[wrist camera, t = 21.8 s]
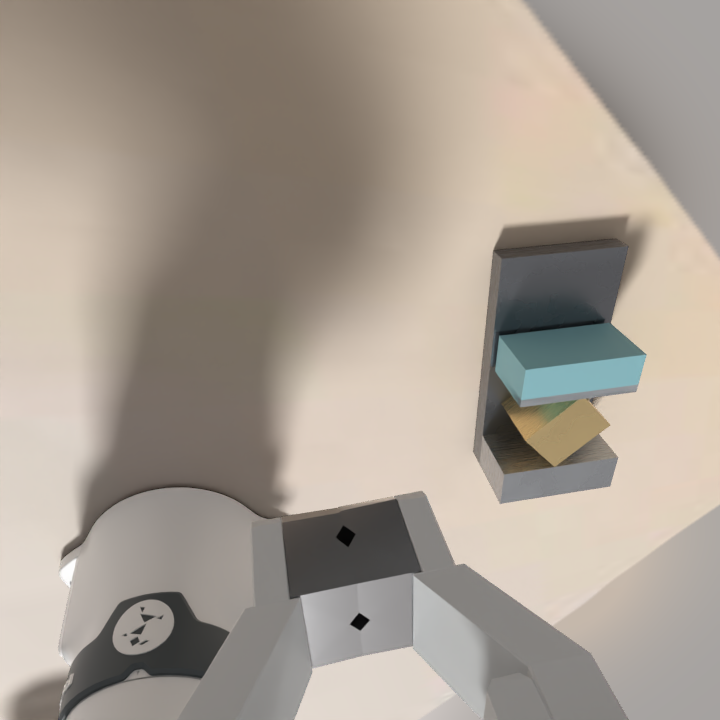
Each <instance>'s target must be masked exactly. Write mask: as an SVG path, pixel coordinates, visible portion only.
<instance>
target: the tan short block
mask: <svg viewBox="0 0 720 720" xmlns="http://www.w3.org/2000/svg"><path fill="white" fill-rule="evenodd" d="M590 399H591V398H586V399H579V400H571V401H564V402H557V403H549V404H542V405H535V406H527V407H519V405H518V404H517V402H516V401H515V399H514V398H513V396H512V395H511V396H510V397H509V398H508V399H506V400H505V401H504V402H503V403H501V404H502V406H503V407H504V409H505V410H506V412H507V413H508V415H509V416H510V418H511V419H512V421H513V423H514V424H515V426H516V427H517V429H518V430H519V432H520V433H521V435H522V436H523V438H524V440H525V441H526V442H527V443H528V444H529V445H530V446H532V447H533V448H534V449H535V450H536V451H537V452H538V453H539V454H541V455H542V456H543V457H544V458H545V459H546V460H547V461H548V462H550V463H551V464H552V465H553V466H554V467H555V466H557V465H558V464H559V463H561V462H562V461H563V460H565V459H566V458H567V457H569V456H570V455H571V454H573V453H574V452H575V451H577V450H578V449H579V448H581V447H582V446H583V445H585V444H586V443H587V442H589V441H590V440H591V439H593V438H594V437H595V436H597V435H598V434H599V433H601V432H602V431H603V430H604V429H606V428H607V427H608V426H610V424H609V423H608V422H607V420H606V419H605V418H604V417H603V416H602V415H601V414H600V412H599V411H598V410H597V409H596V408H595V407H594V406H593V404H592V403H591V402H590V401H589V400H590Z"/></svg>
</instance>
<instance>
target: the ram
mask: <svg viewBox="0 0 720 720" xmlns="http://www.w3.org/2000/svg"><path fill="white" fill-rule="evenodd" d="M645 358H646V354H645V353H644V352H643V351H642V350H641V349H639V348H638V347H637V346H636V345H635V344H634V343H632V342H631V341H630V340H629V339H628V338H627V337H626V336H624V335H623V334H622V333H621V332H620V331H619V330H617V329H616V328H615V327H614V326H613V325H612V324H611V323H603V324H595V325H586V326H578V327H569V328H561V329H552V330H544V331H535V332H527V333H518V334H510V335H501V336H499V342H498V351H497V359H496V368H495V372H496V373H497V375H498V376H499V378H500V379H501V380H502V382H503V383H504V385H505V386H506V388H507V389H508V391H509V392H510V394H511V395H512V396H513V398H514V399H515V401H516V402H517V404H518V405H519V407H527V406H535V405H542V404H549V403H557V402H564V401H571V400H579V399H586V398H594V397H601V396H608V395H616V394H623V393H630V392H636V390H637V386H638V383H639V379H640V376H641V372H642V369H643V365H644V362H645Z"/></svg>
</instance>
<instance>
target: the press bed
mask: <svg viewBox="0 0 720 720" xmlns="http://www.w3.org/2000/svg"><path fill="white" fill-rule="evenodd" d="M627 250H628V246H627V245H626V244H624V243H622V242H621V241H619V240H618V239H608V240H597V241H587V242H577V243H567V244H556V245H546V246H536V247H526V248H515V249H505V250H495V251H493V259H492V269H491V279H490V289H489V299H488V310H487V320H486V330H485V340H484V350H483V360H482V370H481V380H480V390H479V400H478V410H477V420H476V430H475V440H474V450H473V452H474V454H475V456H476V458H477V460H478V462H479V464H480V466H481V468H482V470H483V472H484V473H485V475H486V477H487V479H488V481H489V483H490V485H491V487H492V489H493V491H494V493H495V495H496V497H497V499H498V501H499V503H500V504H501V503H508V502H514V501H520V500H527V499H533V498H539V497H546V496H552V495H558V494H565V493H571V492H577V491H584V490H590V489H596V488H603V487H609V486H610V485H611V481H612V477H613V474H614V470H615V467H616V463H617V460H618V457H617V455H616V454H615V453H614V452H613V451H612V449H611V448H610V447H609V446H608V445H607V443H606V442H605V441H604V440H603V439H602V437H601V436H600V435H599V434H598V435H597V436H595V437H594V438H593V439H591V440H590V441H589V442H587V443H586V444H585V445H583V446H582V447H581V448H579V449H578V450H577V451H575V452H574V453H573V454H571V455H570V456H569V457H567V458H566V459H565V460H563V461H562V462H561V463H559V464H558V465H557V466H555V467H554V466H553V465H552V464H551V463H550V462H548V461H547V460H546V459H545V458H544V457H543V456H542V455H541V454H539V453H538V452H537V451H536V450H535V449H534V448H533V447H532V446H530V445H529V444H528V443H527V442H526V441H525V440H524V438H523V436H522V435H521V433H520V432H519V430H518V429H517V427H516V426H515V424H514V423H513V421H512V419H511V418H510V416H509V415H508V413H507V412H506V410H505V409H504V407H503V406H502V404H501V403H503V402H504V401H505V400H506V399H508V398H509V397H510V396H511V394H510V392H509V391H508V389H507V388H506V386H505V385H504V383H503V382H502V380H501V379H500V378H499V376H498V375H497V373H496V372H495V368H496V359H497V351H498V342H499V336H501V335H510V334H518V333H527V332H535V331H544V330H552V329H561V328H569V327H578V326H586V325H595V324H603V323H611V319H612V315H613V311H614V306H615V302H616V298H617V293H618V289H619V285H620V280H621V276H622V272H623V268H624V263H625V259H626V255H627ZM589 401H590V402H591V403H592V401H593V398H591V399H590V400H589Z"/></svg>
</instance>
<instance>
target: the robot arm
mask: <svg viewBox="0 0 720 720" xmlns="http://www.w3.org/2000/svg"><path fill="white" fill-rule="evenodd" d="M59 576H60V578H61V579H62V580H63V582H64V583H65V584H66V585H67V586H68V587H69V588H70V591H69V596H68V600H67V605H66V610H65V615H64V620H63V624H62V629H61V634H60V639H59V645H58V651H59V655H60V656H62V657H63V658H64V660H65V662H66V663H67V664H68V665H69V666H70V671H69V675H68V679H67V681H66V684H65V685H64V688H63V691H62V696H61V700H60V708H59V709H60V713H59V718H58V720H294V719H295V716H296V714H297V711H298V708H299V706H300V703H301V701H302V698H303V695H304V693H305V690H306V687H307V685H308V682H309V680H310V677H311V674H312V668H316V667H320V666H324V665H328V664H332V663H336V662H340V661H344V660H348V659H352V658H356V657H360V656H362V655H363V656H364V655H369V654H374V653H379V652H385V651H390V650H395V649H400V648H405V647H410V646H413V649H414V650H415V651H416V652H417V653H418V654H419V655H420V656H421V657H422V658H423V659H424V660H425V662H426V663H427V664H428V665H429V666H430V667H431V668H432V669H433V670H434V671H435V672H436V673H437V674H438V675H439V676H440V677H441V678H442V679H443V680H444V681H445V682H446V683H447V684H448V685H449V686H450V687H451V688H452V689H453V691H454V692H455V693H456V694H457V695H458V696H459V697H460V698H461V699H462V700H463V701H464V702H465V703H466V704H467V705H468V706H469V707H470V708H471V709H472V710H473V711H474V712H475V713H476V714H477V715H478V716H479V717H480V718H481V720H629V719H628V718H627V716H626V714H625V712H624V711H623V709H622V707H621V706H620V704H619V702H618V700H617V698H616V697H615V695H614V693H613V691H612V690H611V688H610V686H609V684H608V683H607V681H606V679H605V677H604V676H603V674H602V672H601V670H600V669H599V667H598V665H597V663H596V662H595V660H594V658H593V657H592V655H591V653H589V652H588V651H587V650H585V649H584V648H582V647H581V646H579V645H578V644H577V643H575V642H574V641H572V640H571V639H570V638H568V637H567V636H565V635H564V634H563V633H561V632H560V631H558V630H557V629H555V628H554V627H553V626H551V625H550V624H548V623H547V622H546V621H544V620H543V619H541V618H540V617H539V616H537V615H536V614H534V613H533V612H532V611H530V610H529V609H527V608H526V607H524V606H523V605H522V604H520V603H519V602H517V601H516V600H515V599H513V598H512V597H510V596H509V595H508V594H506V593H505V592H503V591H502V590H500V589H499V588H498V587H496V586H495V585H493V584H492V583H491V582H489V581H488V580H486V579H485V578H484V577H482V576H481V575H479V574H478V573H476V572H475V571H474V570H472V569H471V568H469V567H468V566H467V565H465V564H460V565H455V563H454V560H453V558H452V556H451V553H450V551H449V548H448V546H447V544H446V541H445V539H444V537H443V534H442V532H441V530H440V527H439V525H438V522H437V520H436V518H435V515H434V513H433V511H432V508H431V506H430V504H429V501H428V499H427V496H426V494H424V493H423V492H422V491H419V492H413V493H408V494H403V495H398V496H394V497H387V498H382V499H377V500H372V501H366V502H361V503H356V504H351V505H346V506H341V507H338V508H333V509H326V510H320V511H314V512H307V513H301V514H295V515H289V516H282V519H281V517H279V518H273V519H266V518H262V517H260V516H258V515H256V514H255V513H253V512H252V511H251V510H249V509H248V508H247V507H245V506H244V505H242V504H241V503H239V502H237V501H236V500H234V499H232V498H230V497H227V496H225V495H222V494H219V493H216V492H212V491H208V490H203V489H197V488H183V487H178V488H163V489H156V490H151V491H147V492H143V493H140V494H137V495H134V496H131V497H129V498H126V499H124V500H122V501H120V502H119V503H117V504H115V505H114V506H112V507H111V508H109V509H108V510H107V511H106V512H104V513H103V514H102V515H101V516H100V517H99V518H98V520H97V521H96V522H95V523H94V525H93V527H92V528H91V530H90V532H89V534H88V536H87V538H86V540H85V541H84V542H83V544H82V545H80V546H79V547H77V548H76V549H74V550H73V551H72V552H70V553H69V554H68V555H66V556H65V557H64V558H63V559H62V561H61V563H60V568H59Z"/></svg>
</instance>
